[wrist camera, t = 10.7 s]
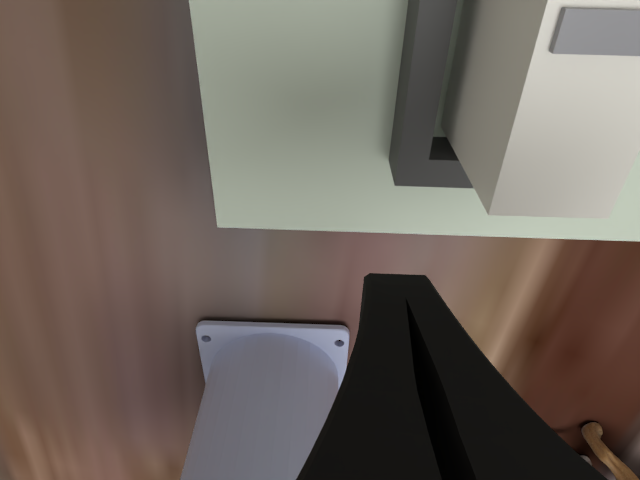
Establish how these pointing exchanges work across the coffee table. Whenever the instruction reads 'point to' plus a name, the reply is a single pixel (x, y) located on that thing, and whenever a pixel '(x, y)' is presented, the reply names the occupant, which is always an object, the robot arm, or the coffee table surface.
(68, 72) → the coffee table surface
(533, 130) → the plug
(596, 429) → the lion figurine
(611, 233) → the board
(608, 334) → the coffee table surface
